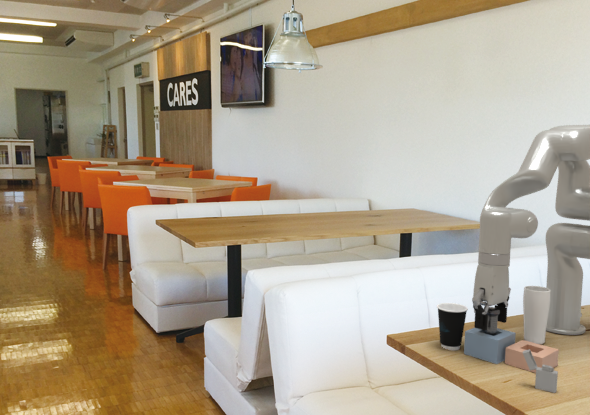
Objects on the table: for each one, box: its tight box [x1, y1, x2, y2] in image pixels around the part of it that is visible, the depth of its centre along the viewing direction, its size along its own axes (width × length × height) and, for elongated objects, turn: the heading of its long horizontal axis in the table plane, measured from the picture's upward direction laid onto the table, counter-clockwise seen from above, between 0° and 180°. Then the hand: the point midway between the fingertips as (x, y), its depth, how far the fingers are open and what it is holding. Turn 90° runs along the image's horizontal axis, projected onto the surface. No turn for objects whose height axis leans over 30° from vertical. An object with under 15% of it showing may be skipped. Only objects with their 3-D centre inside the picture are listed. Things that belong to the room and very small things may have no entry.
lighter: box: [523, 349, 559, 394], centre depth 119 cm, size 7×2×8 cm, turn 56°
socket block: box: [463, 327, 516, 365], centre depth 138 cm, size 9×9×6 cm
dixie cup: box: [436, 302, 469, 351], centre depth 143 cm, size 8×8×11 cm
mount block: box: [504, 339, 560, 374], centre depth 132 cm, size 9×9×4 cm
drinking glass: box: [522, 285, 551, 345], centre depth 148 cm, size 7×7×15 cm
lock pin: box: [484, 306, 500, 336], centre depth 138 cm, size 4×4×12 cm
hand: (490, 325), depth 138 cm, fingers open, 9 cm apart
